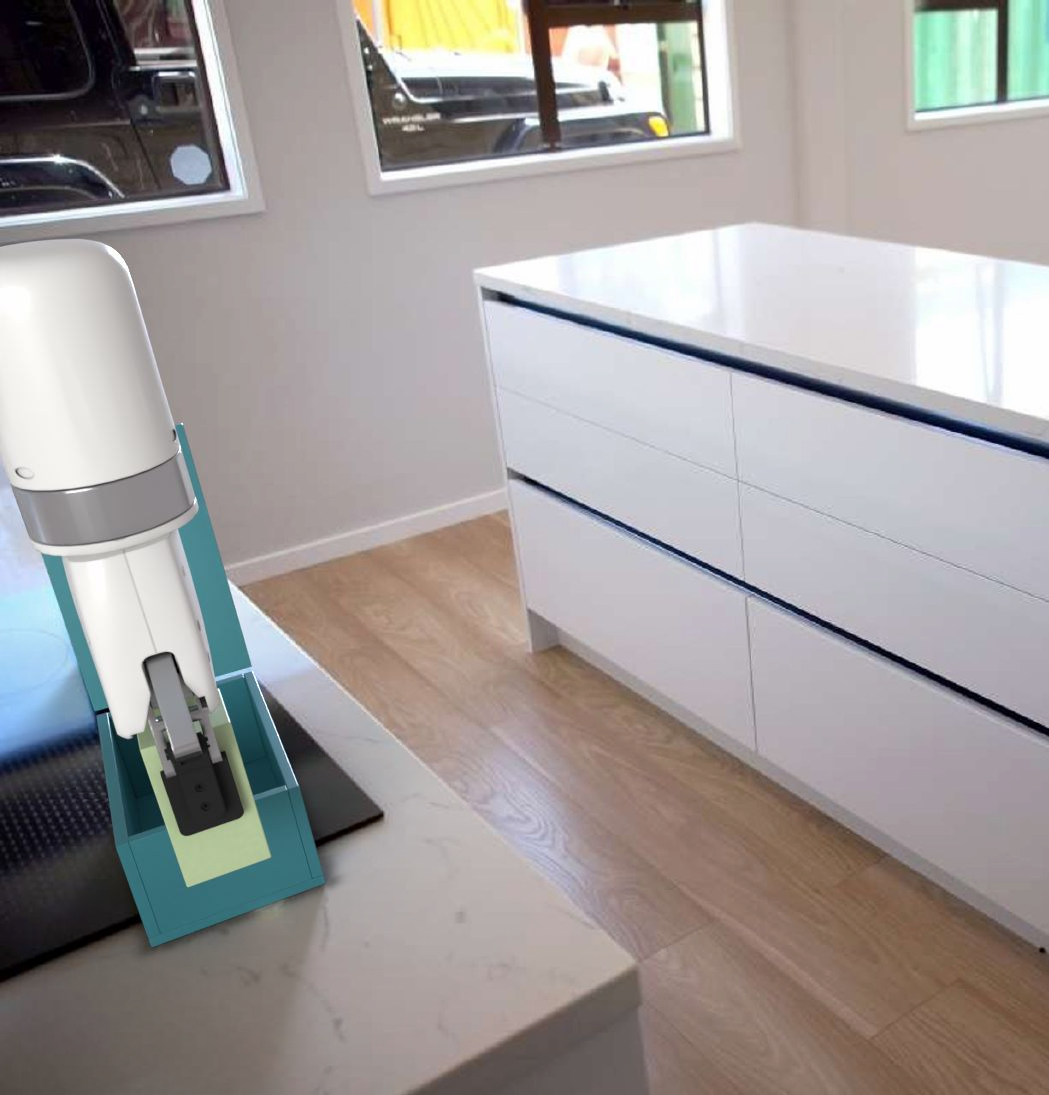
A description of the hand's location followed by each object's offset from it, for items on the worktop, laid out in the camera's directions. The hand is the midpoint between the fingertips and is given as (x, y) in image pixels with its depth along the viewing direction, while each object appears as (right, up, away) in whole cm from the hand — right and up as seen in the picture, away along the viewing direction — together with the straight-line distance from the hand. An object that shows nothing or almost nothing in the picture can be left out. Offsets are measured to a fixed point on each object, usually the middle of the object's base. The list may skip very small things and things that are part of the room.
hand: (206, 798), depth 69 cm
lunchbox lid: (-13, +12, +17) cm, 25 cm away
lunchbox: (-7, -6, +17) cm, 20 cm away
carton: (0, -3, +2) cm, 4 cm away
